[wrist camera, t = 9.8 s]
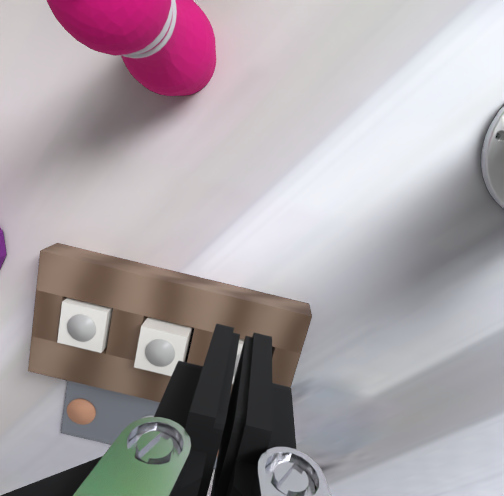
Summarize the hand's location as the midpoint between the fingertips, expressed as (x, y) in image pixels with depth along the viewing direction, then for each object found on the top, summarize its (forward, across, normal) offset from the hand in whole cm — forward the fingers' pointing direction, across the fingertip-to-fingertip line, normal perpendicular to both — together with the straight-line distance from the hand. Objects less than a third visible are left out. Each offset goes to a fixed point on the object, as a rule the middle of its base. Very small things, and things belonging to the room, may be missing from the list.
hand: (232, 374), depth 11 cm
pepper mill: (+27, +10, -12) cm, 31 cm away
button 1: (+27, +14, +14) cm, 33 cm away
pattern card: (+27, +6, +26) cm, 38 cm away
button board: (+27, +6, +14) cm, 31 cm away
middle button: (+26, +6, +14) cm, 30 cm away
